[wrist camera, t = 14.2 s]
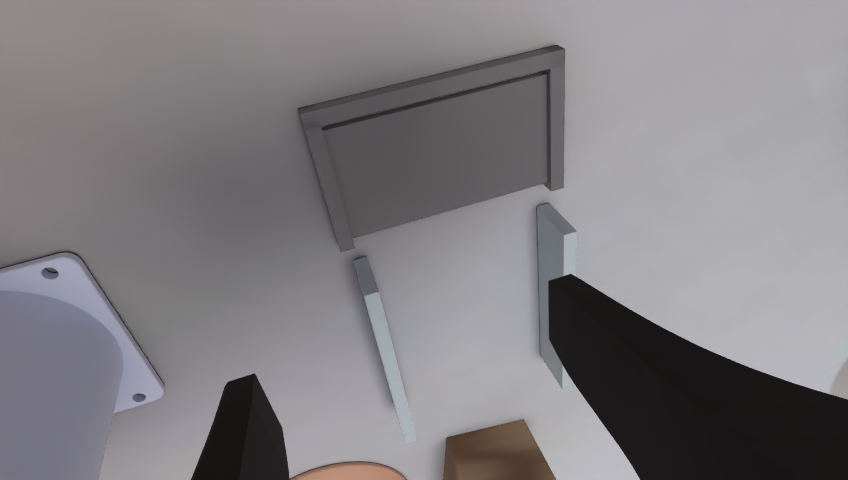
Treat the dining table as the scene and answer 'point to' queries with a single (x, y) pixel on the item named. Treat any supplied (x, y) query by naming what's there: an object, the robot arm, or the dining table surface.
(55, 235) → the dining table surface
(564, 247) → the grey parallel rails
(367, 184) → the tray
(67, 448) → the robot arm
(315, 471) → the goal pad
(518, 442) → the walnut block
